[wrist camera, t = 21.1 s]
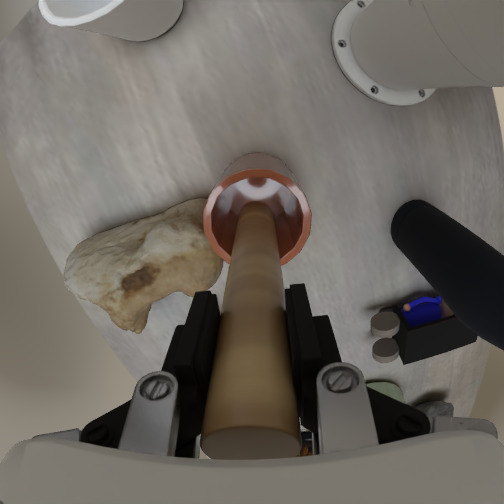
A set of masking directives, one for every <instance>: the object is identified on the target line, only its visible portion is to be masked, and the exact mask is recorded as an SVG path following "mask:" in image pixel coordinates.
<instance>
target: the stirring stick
mask: <svg viewBox="0 0 504 504" xmlns="http://www.w3.org/2000/svg"><path fill="white" fill-rule="evenodd" d="M200 447H201V449H202V451H203V452H204V453H205V454H206V455H207V456H208V457H209V458H211V459H217V460H257V459H278V458H293V457H295V456H297V455H298V453H299V452H300V450H301V448H302V440H301V430H300V420H299V410H298V401H297V392H296V389H295V387H294V379H293V369H292V360H291V351H290V342H289V334H288V325H287V317H286V306H285V293H284V286H283V278H282V271H281V264H280V257H279V249H278V242H277V236H276V229H275V222H274V215H273V212H272V210H271V208H270V207H269V206H268V205H267V204H265V203H263V202H259V201H253V202H249V203H247V204H246V205H244V206H243V207H242V209H241V211H240V213H239V218H238V223H237V228H236V233H235V239H234V244H233V249H232V255H231V260H230V266H229V271H228V277H227V282H226V288H225V293H224V299H223V304H222V310H221V316H220V322H219V327H218V333H217V339H216V345H215V351H214V357H213V363H212V369H211V375H210V381H209V387H208V393H207V399H206V405H205V412H204V418H203V424H202V431H201V437H200Z"/></svg>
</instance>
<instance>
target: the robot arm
mask: <svg viewBox="0 0 504 504" xmlns="http://www.w3.org/2000/svg"><path fill="white" fill-rule="evenodd" d="M358 5H360V6H361V7H359V6H358ZM338 43H340V44H342V47H340V46H339V45H338ZM332 46H333V51H334V55H335V57H336V60H337V62H338V65H339V66H340V68H341V70H342V71H343V73H344V75H345V76H346V77H347V78H348V79H349V81H350V82H351V83H352V84H353V85H354V86H355V87H356V88H358V89H359V90H360V91H361V92H362V93H364V94H365V95H367V96H369V97H370V98H372V99H374V100H376V101H379V102H381V103H385V104H389V105H396V106H406V105H413V104H417V103H420V102H422V101H424V100H426V99H427V98H428V97H429V96H431V95H432V94H433V93H434V92H435V90H436V89H437V88H450V87H504V0H353V1H351V2H349V3H348V4H347V5H346V6H345V7H344V8H343V9H342V10H341V11H340V12H339V14H338V16H337V17H336V20H335V22H334V25H333V29H332ZM371 88H373V90H374V92H373V93H372V92H371ZM419 93H420V95H419ZM285 306H286V317H287V325H288V334H289V342H290V351H291V360H292V369H293V379H294V387H295V389H296V392H297V401H298V410H299V417H300V421H301V425H303V427H305V428H306V429H308V430H310V431H311V432H312V442H313V456H304V457H293V458H278V459H257V460H217V459H199V454H200V434H201V431H202V424H203V418H204V412H205V405H206V399H207V393H208V387H209V381H210V375H211V369H212V363H213V357H214V351H215V345H216V339H217V333H218V327H219V322H220V311H219V306H218V301H217V296H216V294H211V291H197V292H195V295H194V298H193V301H192V304H191V307H190V310H189V313H188V316H187V320H186V323H185V325H178V326H177V327H176V329H175V332H174V334H173V337H172V340H171V343H170V346H169V349H168V352H167V355H166V358H165V361H164V364H163V367H162V370H161V371H156V372H152V373H149V374H147V375H145V376H143V377H142V378H141V379H140V380H139V381H138V383H137V385H136V387H135V390H134V393H133V396H132V399H131V400H129V401H128V402H126V403H124V404H123V405H121V406H119V407H117V408H115V409H113V410H112V411H110V412H108V413H106V414H104V415H102V416H101V417H99V418H97V419H95V420H93V421H91V422H90V423H88V424H87V425H86V426H85V427H84V429H83V430H82V431H80V430H79V429H78V428H76V429H72V430H66V431H60V432H54V433H49V434H42V435H37V436H35V437H33V438H32V439H28V440H24V441H21V442H19V443H17V444H15V445H14V446H13V447H12V448H11V449H10V450H9V452H8V453H7V454H6V456H5V457H4V459H3V461H2V462H1V464H0V504H504V446H503V444H502V443H501V442H500V441H499V440H498V439H497V430H496V427H495V426H494V424H493V423H492V422H490V421H489V420H486V419H477V418H461V417H448V416H437V415H435V417H434V418H428V417H427V416H426V415H425V413H423V412H422V411H420V410H418V409H416V408H414V407H411V406H409V405H407V404H405V403H402V402H400V401H398V400H396V399H394V398H391V397H389V396H387V395H385V394H383V393H380V392H378V391H376V390H374V389H372V388H370V387H368V386H366V383H365V379H364V376H363V374H362V372H361V370H359V369H358V368H357V367H356V366H354V365H352V364H349V363H345V362H342V361H341V357H340V354H339V350H338V347H337V343H336V340H335V337H334V333H333V330H332V326H331V323H330V320H329V317H328V315H323V316H313V317H312V313H311V309H310V304H309V300H308V296H307V292H306V288H305V284H304V283H303V284H292V285H290V289H285Z"/></svg>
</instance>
